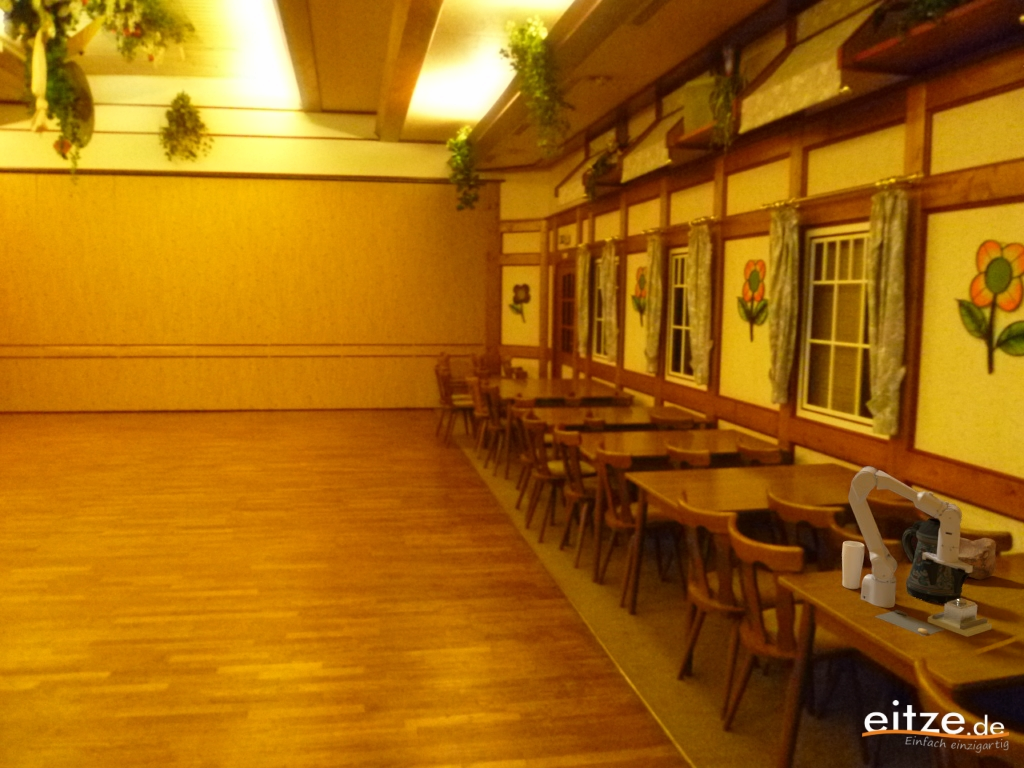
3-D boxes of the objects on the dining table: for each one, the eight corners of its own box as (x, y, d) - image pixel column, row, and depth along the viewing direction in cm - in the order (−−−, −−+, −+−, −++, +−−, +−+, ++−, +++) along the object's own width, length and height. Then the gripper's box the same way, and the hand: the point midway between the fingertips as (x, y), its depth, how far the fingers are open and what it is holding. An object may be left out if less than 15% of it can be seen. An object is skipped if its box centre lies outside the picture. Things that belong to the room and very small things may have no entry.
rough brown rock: (912, 573, 289) (916, 534, 286) (924, 559, 302) (928, 521, 299) (986, 592, 274) (991, 550, 271) (995, 576, 287) (1000, 536, 284)
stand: (927, 624, 240) (928, 613, 240) (951, 617, 246) (952, 606, 246) (966, 640, 230) (968, 628, 230) (990, 632, 236) (991, 620, 236)
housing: (959, 615, 242) (961, 594, 242) (975, 621, 238) (977, 600, 237) (943, 619, 238) (945, 599, 238) (960, 625, 234) (961, 604, 233)
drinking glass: (855, 583, 275) (858, 540, 273) (865, 590, 268) (868, 546, 267) (836, 583, 275) (839, 540, 273) (845, 590, 268) (848, 546, 266)
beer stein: (956, 608, 254) (963, 531, 252) (890, 593, 266) (896, 520, 263) (965, 594, 267) (971, 520, 265) (901, 580, 279) (907, 510, 276)
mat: (874, 619, 244) (874, 613, 243) (894, 613, 249) (895, 607, 248) (923, 639, 230) (924, 632, 230) (944, 633, 235) (945, 626, 235)
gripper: (917, 540, 248) (914, 583, 249) (964, 553, 235) (960, 598, 237) (931, 537, 251) (928, 579, 253) (978, 550, 239) (974, 594, 240)
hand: (944, 588), depth 245 cm, fingers open, 7 cm apart
